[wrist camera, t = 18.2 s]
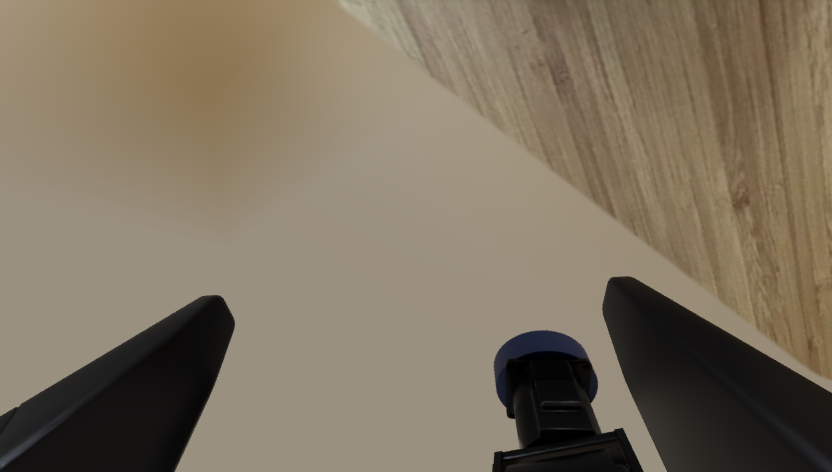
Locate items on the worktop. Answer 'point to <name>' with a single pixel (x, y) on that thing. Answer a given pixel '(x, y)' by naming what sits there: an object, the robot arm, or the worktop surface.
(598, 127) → the worktop surface
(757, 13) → the worktop surface
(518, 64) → the worktop surface
